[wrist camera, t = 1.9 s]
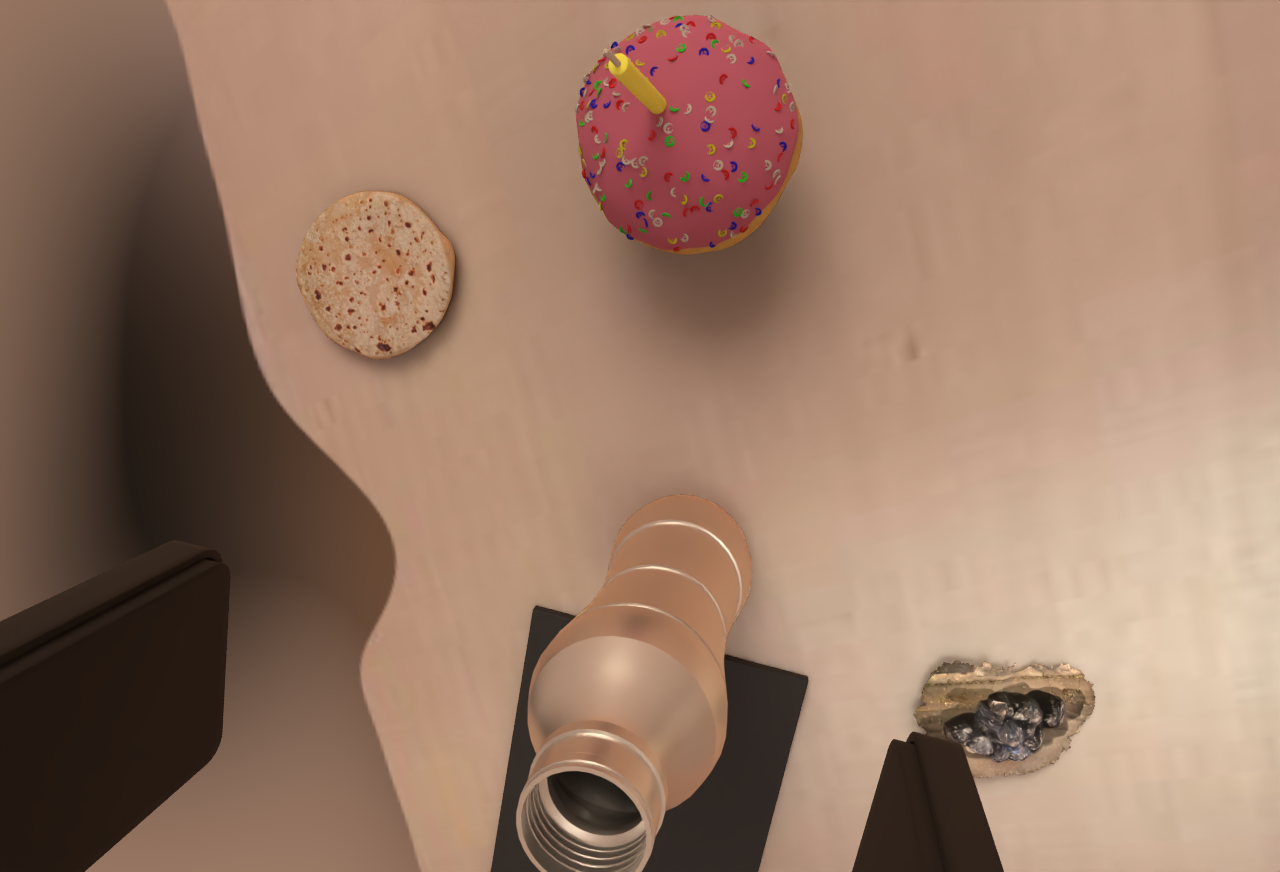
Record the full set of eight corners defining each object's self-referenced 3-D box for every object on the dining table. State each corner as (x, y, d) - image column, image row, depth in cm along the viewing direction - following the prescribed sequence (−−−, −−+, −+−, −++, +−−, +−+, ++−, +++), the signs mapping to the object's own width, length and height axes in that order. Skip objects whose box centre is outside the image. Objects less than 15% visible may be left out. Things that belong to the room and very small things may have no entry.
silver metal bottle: (626, 611, 41) (474, 932, 22) (618, 481, 40) (448, 703, 20) (757, 615, 40) (716, 959, 21) (753, 480, 38) (706, 717, 19)
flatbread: (354, 380, 41) (343, 383, 40) (278, 241, 40) (265, 241, 39) (489, 308, 39) (481, 309, 38) (412, 159, 38) (402, 157, 37)
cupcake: (565, 145, 36) (457, 101, 25) (709, -3, 34) (662, -128, 23) (692, 292, 37) (643, 315, 25) (844, 155, 34) (865, 112, 23)
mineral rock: (893, 672, 39) (898, 693, 37) (1064, 616, 37) (1078, 636, 35) (947, 791, 40) (954, 817, 38) (1118, 743, 38) (1134, 768, 36)
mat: (535, 605, 42) (532, 609, 41) (808, 676, 40) (808, 681, 40) (485, 917, 47) (482, 924, 47) (724, 993, 45) (723, 1001, 45)
